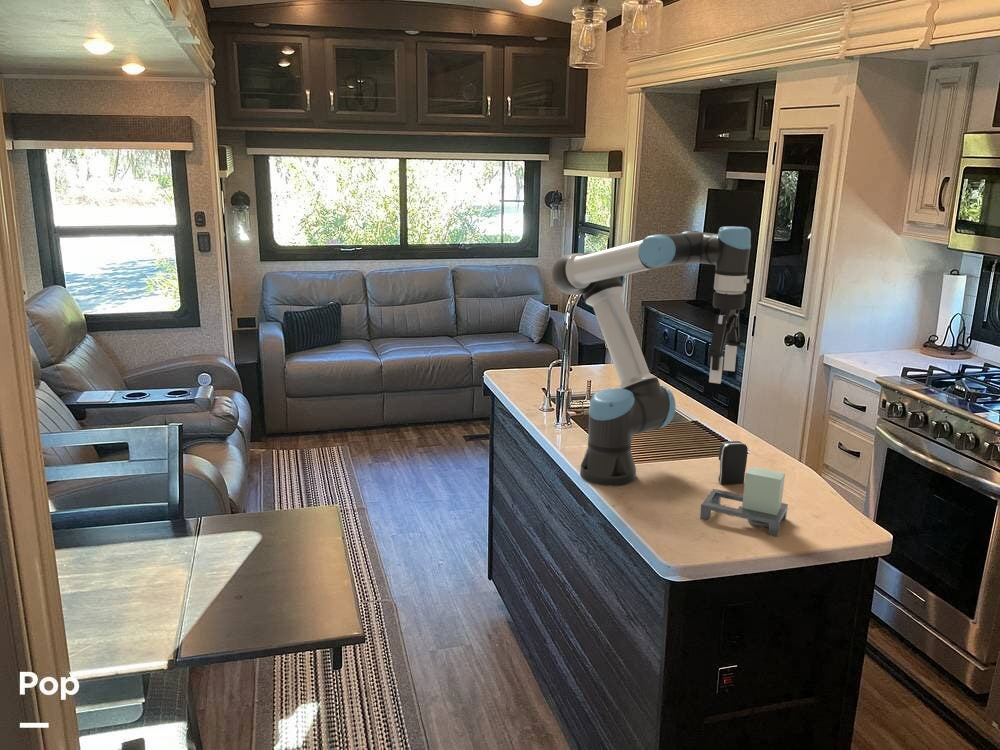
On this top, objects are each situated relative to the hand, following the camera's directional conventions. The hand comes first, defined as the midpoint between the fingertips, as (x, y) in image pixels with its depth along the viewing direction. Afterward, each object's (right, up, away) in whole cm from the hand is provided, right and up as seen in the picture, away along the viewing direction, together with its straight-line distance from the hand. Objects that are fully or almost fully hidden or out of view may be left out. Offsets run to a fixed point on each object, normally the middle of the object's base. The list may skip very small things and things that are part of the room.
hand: (722, 376), depth 195 cm
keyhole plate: (+4, -34, -6) cm, 35 cm away
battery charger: (+7, -29, +17) cm, 34 cm away
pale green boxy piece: (+7, -35, -7) cm, 36 cm away
